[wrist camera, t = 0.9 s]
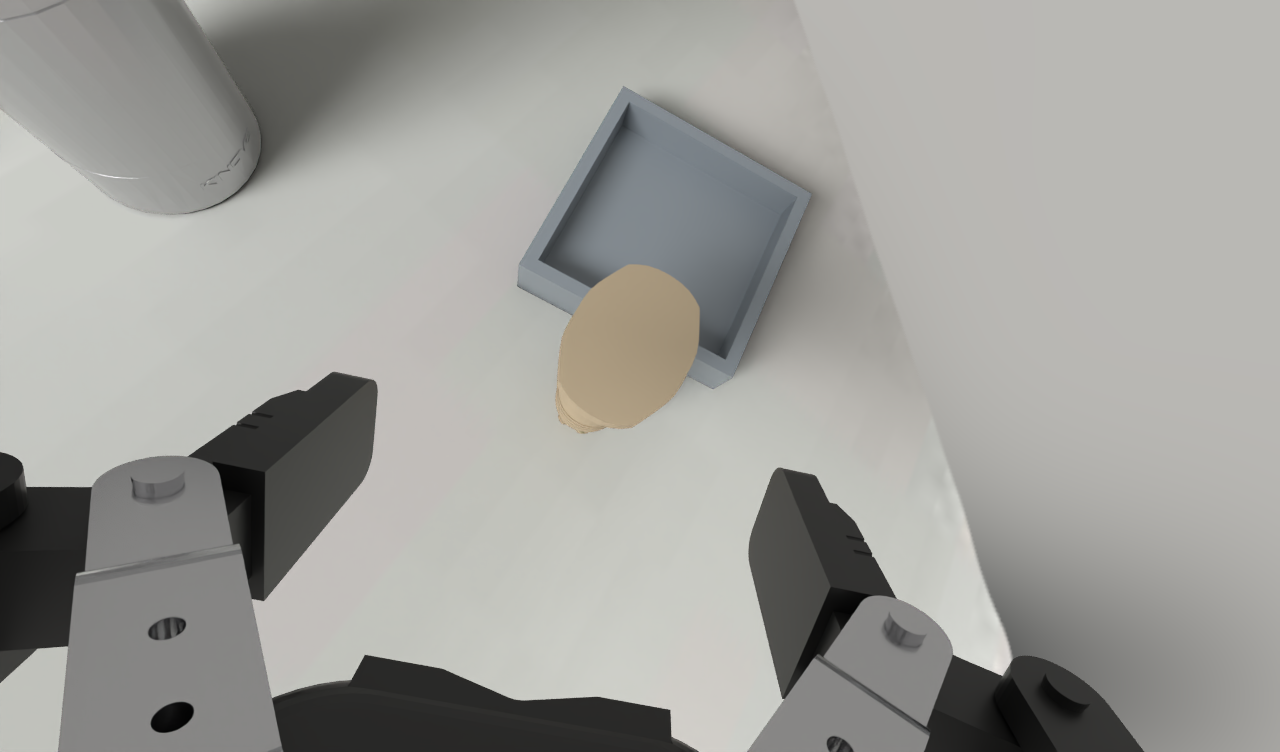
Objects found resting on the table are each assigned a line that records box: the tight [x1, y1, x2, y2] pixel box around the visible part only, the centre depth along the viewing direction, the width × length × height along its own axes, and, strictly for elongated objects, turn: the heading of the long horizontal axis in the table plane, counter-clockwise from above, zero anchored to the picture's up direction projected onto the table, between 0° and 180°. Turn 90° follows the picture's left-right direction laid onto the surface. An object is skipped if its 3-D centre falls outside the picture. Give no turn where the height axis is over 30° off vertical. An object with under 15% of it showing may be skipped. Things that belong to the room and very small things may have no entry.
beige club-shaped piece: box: [556, 264, 700, 434], centre depth 30 cm, size 5×6×15 cm
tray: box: [517, 86, 812, 389], centre depth 39 cm, size 14×14×4 cm
